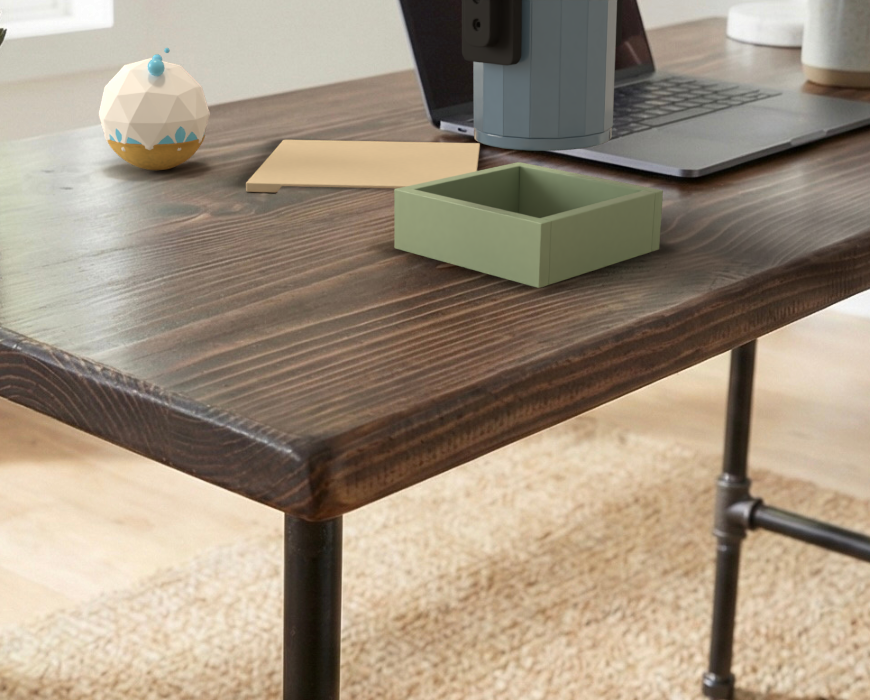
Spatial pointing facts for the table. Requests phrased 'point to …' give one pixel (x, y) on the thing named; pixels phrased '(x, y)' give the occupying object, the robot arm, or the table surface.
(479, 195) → the open square box
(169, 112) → the ornament
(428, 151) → the wooden board
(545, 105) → the cup
